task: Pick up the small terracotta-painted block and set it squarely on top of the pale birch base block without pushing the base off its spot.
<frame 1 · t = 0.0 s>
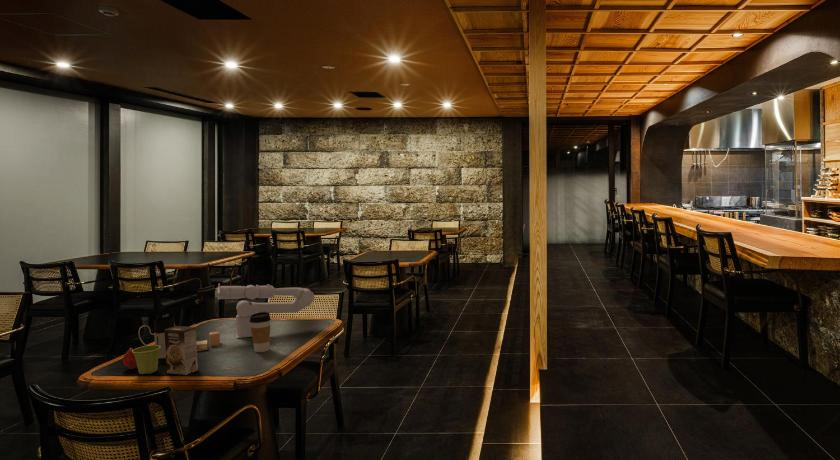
hand: (197, 292, 237), 22 cm above the table, tool horizontal, fingers open, 7 cm apart
coffee box: (182, 372, 195), on the table
coffee cup: (261, 350, 220), on the table
plant pot: (148, 372, 197), on the table
onion: (132, 369, 201), on the table
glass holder: (159, 357, 216), on the table
birch base: (199, 349, 225), on the table
painted block: (215, 344, 232), on the table
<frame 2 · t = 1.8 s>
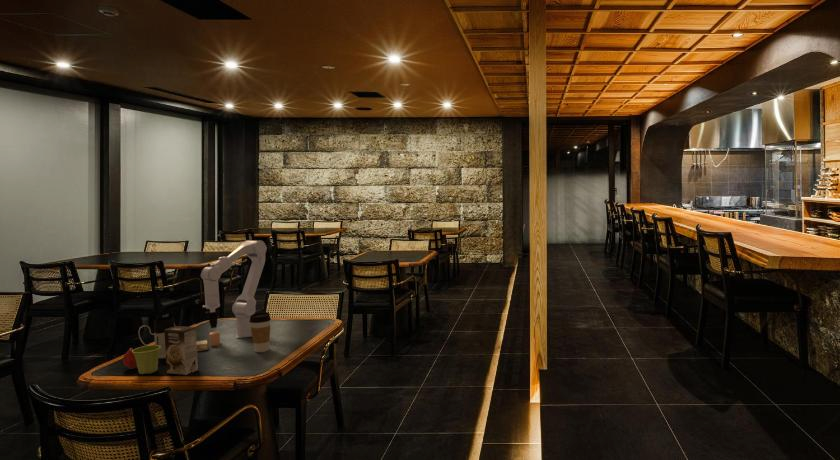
hand: (213, 325, 231), 8 cm above the table, tool pointing down, fingers open, 7 cm apart
nothing on the table moved.
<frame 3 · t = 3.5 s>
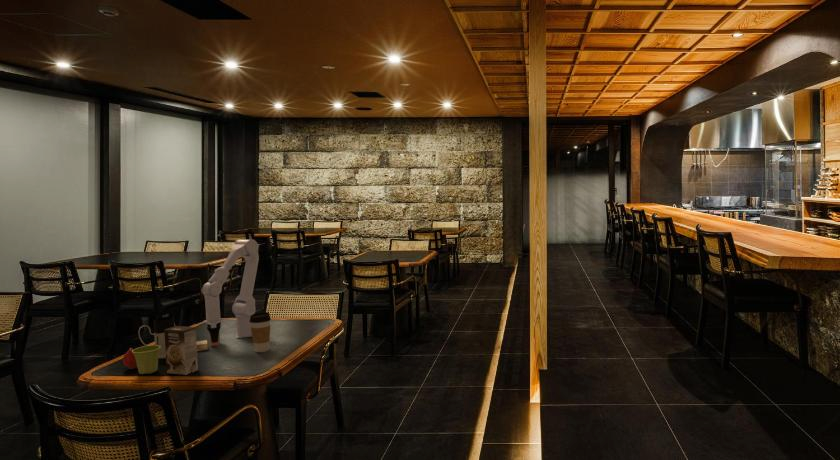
hand: (214, 341, 232), 1 cm above the table, tool pointing down, fingers closed on painted block, 4 cm apart
painted block: (215, 344, 232), on the table, touching gripper
everything else where it was.
when the fingers open (5 cm above the table, at t = 6.2 s): painted block drops 1 cm, point 3 cm above the table.
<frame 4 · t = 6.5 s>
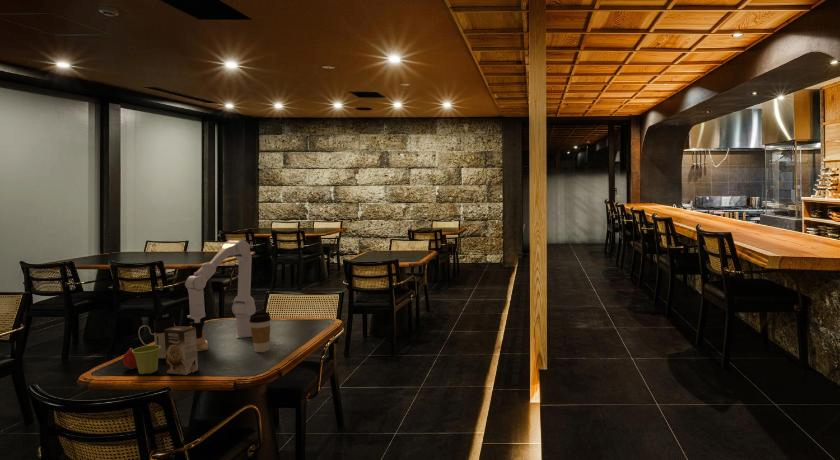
hand: (199, 336, 225), 5 cm above the table, tool pointing down, fingers open, 6 cm apart
painted block: (199, 342, 225), point 3 cm above the table
everything else where it was.
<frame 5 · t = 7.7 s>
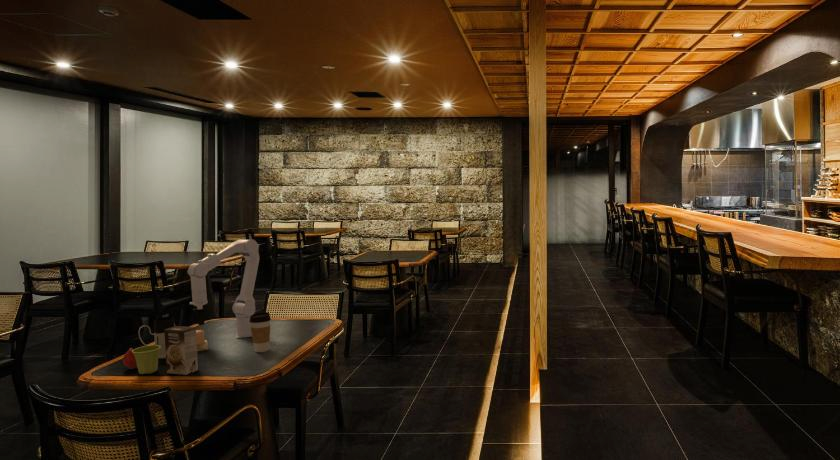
hand: (201, 322, 228), 10 cm above the table, tool pointing down, fingers open, 7 cm apart
birch base: (199, 349, 225), on the table, touching painted block
painted block: (199, 342, 225), point 3 cm above the table, touching birch base
everything else where it was.
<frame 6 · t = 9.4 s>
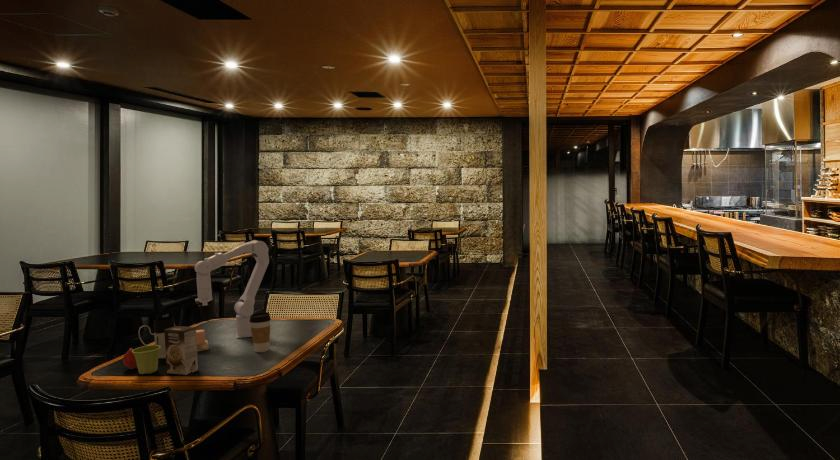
hand: (206, 319, 235), 10 cm above the table, tool pointing down, fingers open, 7 cm apart
nothing on the table moved.
at the end: painted block 0.2 cm off-centre on the birch base, point 3.0 cm above the birch base's base; painted block tilted 1°; birch base moved 0.5 cm from its start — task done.
